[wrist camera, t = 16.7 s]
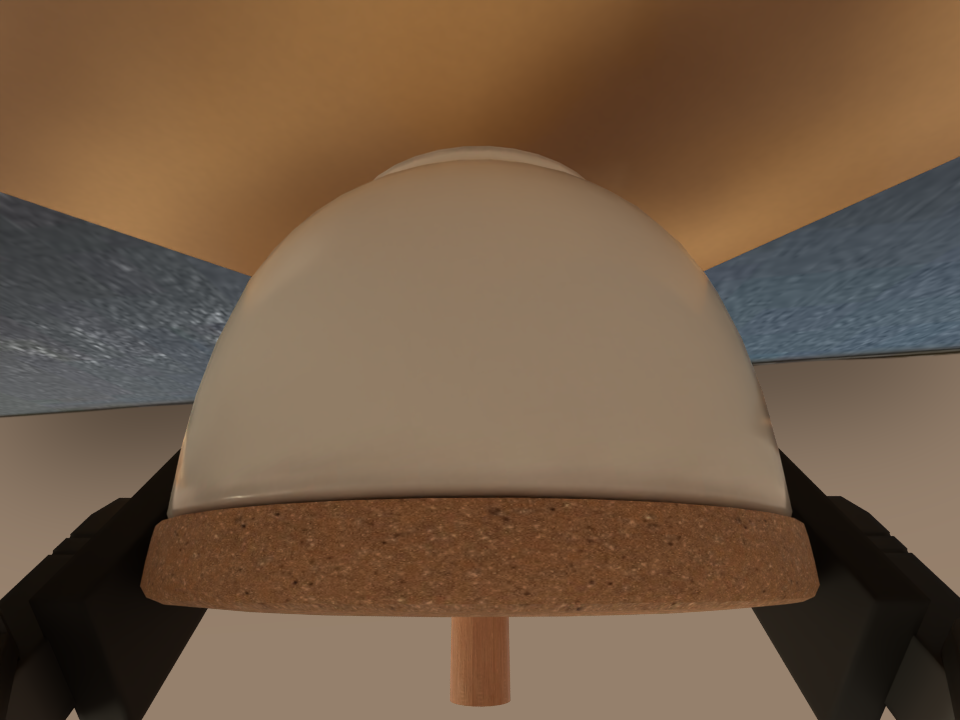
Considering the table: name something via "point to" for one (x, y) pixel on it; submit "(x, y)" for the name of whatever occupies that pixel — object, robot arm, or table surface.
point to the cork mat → (469, 107)
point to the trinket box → (479, 421)
